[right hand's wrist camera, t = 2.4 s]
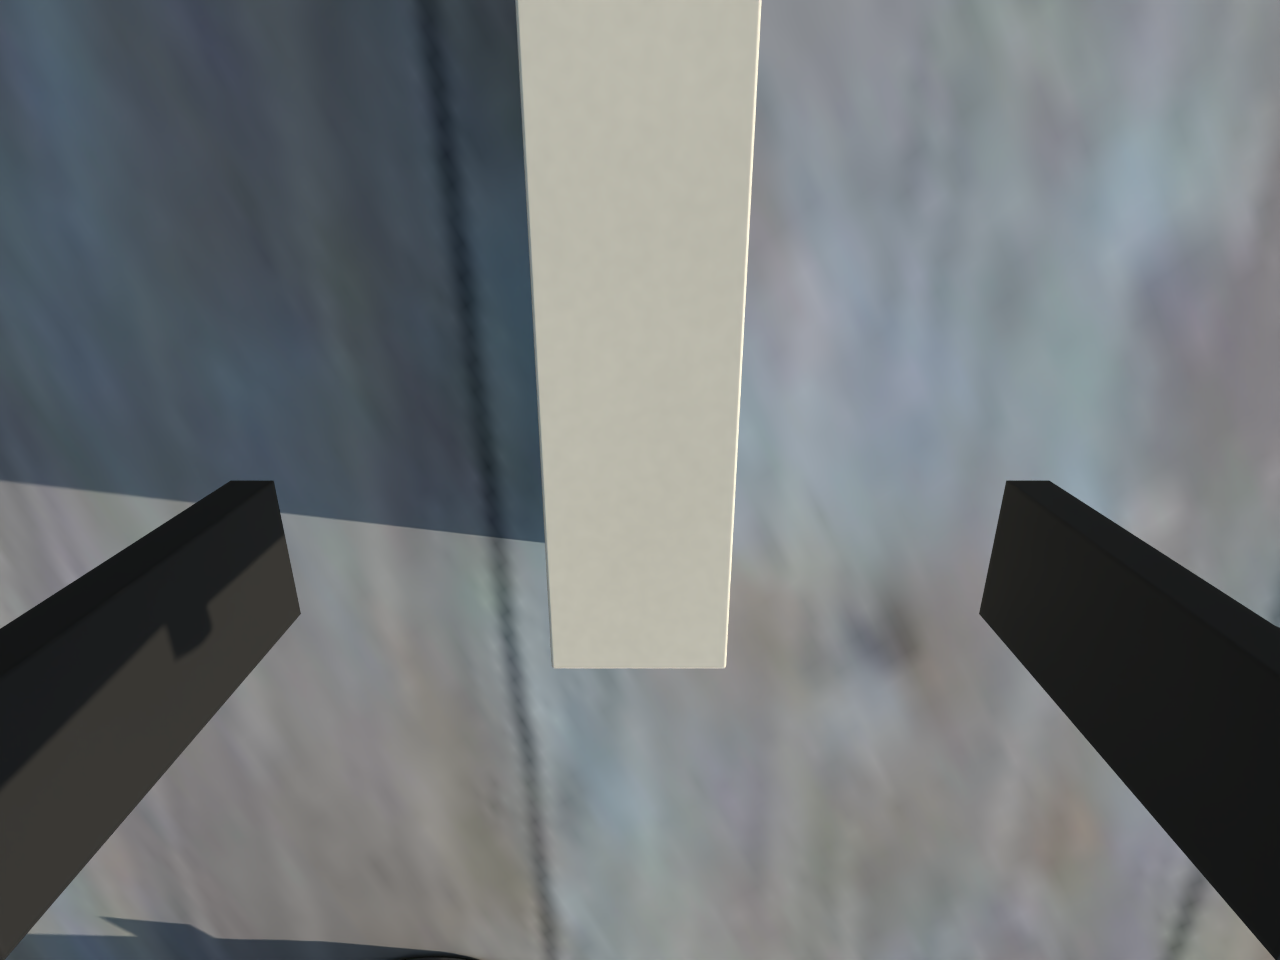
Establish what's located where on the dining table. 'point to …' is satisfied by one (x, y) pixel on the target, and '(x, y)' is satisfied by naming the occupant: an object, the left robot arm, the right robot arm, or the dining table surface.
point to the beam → (638, 314)
